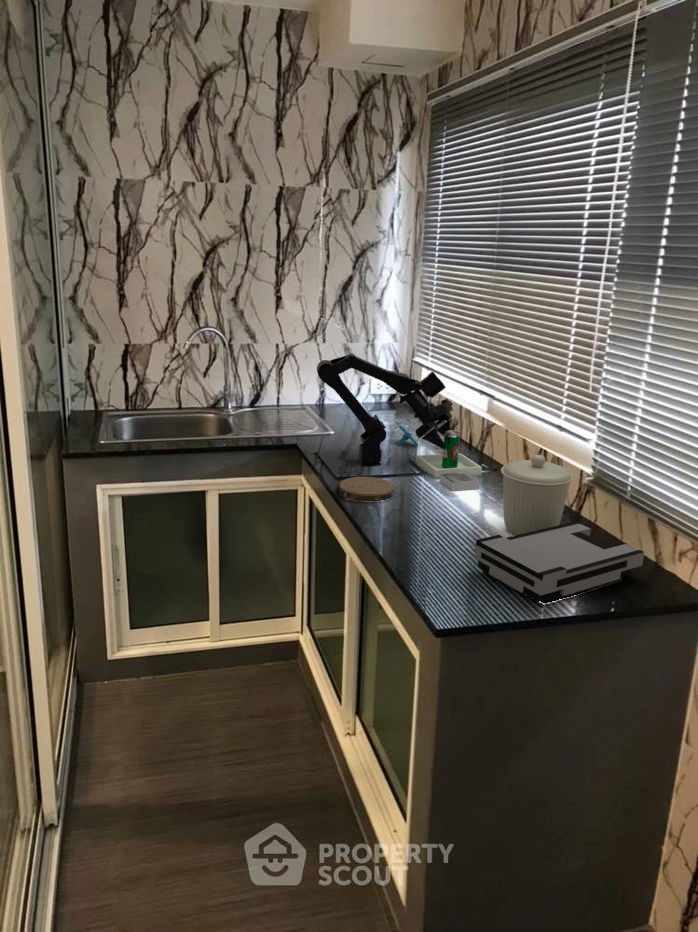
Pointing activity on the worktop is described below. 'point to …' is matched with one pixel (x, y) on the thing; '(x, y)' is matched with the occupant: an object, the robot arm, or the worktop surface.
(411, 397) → the robot arm
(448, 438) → the soda can
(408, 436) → the gear
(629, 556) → the game console
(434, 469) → the sage tray
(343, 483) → the tan round disc
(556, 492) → the canister
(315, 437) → the worktop surface
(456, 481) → the steel socket
